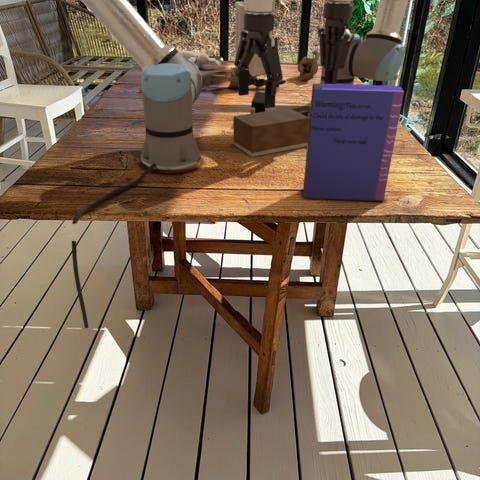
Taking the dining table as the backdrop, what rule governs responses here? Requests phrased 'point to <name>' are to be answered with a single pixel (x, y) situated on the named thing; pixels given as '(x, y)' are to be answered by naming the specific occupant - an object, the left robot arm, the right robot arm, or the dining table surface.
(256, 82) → the figurine
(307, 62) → the anatomical model
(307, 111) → the drawer
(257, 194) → the dining table surface
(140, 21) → the left robot arm
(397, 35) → the right robot arm
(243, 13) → the paper bag
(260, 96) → the figurine character
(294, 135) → the wooden chest box
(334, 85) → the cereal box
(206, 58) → the toy
